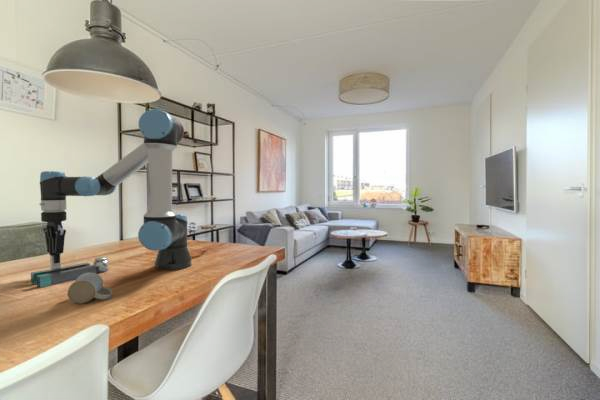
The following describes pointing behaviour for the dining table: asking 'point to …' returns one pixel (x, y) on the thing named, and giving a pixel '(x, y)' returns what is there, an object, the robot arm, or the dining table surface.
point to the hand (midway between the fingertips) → (55, 270)
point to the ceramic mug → (87, 288)
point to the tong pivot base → (71, 274)
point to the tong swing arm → (60, 269)
